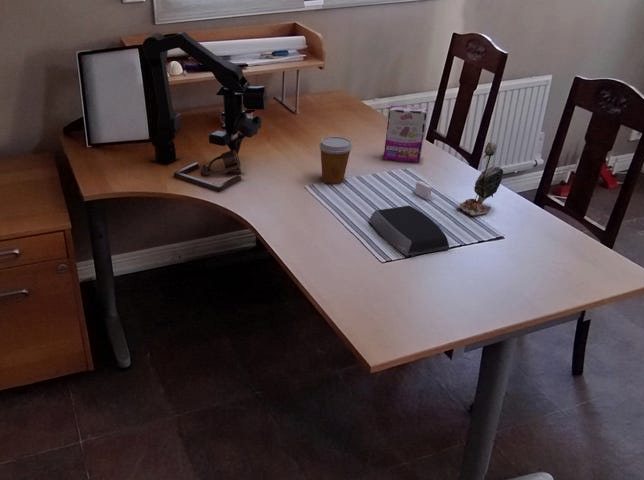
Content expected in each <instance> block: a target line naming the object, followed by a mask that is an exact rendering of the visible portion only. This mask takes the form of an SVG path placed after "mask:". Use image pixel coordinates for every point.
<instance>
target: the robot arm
mask: <svg viewBox="0 0 644 480" xmlns="http://www.w3.org/2000/svg"><path fill="white" fill-rule="evenodd" d="M175 49H180V50H181V51H182V52H184V53H185V54H187V56H189V57H191V58H192V59H193V60H195V61H196V62H198V64H201V65H202V66H203V67H204V68H206V69H207V70H209V71H210V73H211V74H212V75H213V77H214V78H215V79H216V81H217V82H218V83H219V84H220V85H221V86H220V88H219V89H218V91H217V92H216V93H215V94H216V96H222V97H223V112H221V114H220V115H221V117H223V118H224V124H223V125H221V129H222V130H224V131H221V130H216V131H213V132H212V133H210V134H209V136H208V143H209V144H212V145H215V146H216V145H217V146H220V147H225V146H227V147H228V149H229V151H231V150H236V152H237V155H238V156H239V152H240V148H241V145H242V142H243V140H244V139H245V138H249V139H250V138H253V137H254V136H255V135H258V132H259V129H261V128H262V117H260V116H259V115H256V116H253V117H250V116H247V112H246V110H249V111H252V110H253V111H254V110H255V111H265V110H267V108H268V103H269V102H268V101H269V99H268V97H269V96H268V91H267V90H266V89H267V88H266V86H265V85H259V86H251V83H250V82H249V81H248V80H247V78H246V76H244V71H243V69H242V67H241V66H239V65H237V64H236V63H234V62H232V61H230V60H226V59H222V58H221V57H219V56H217V55H216V54H215V53H213V52H212V51H211V50H209V49H208V48H207V47H206V46H204V45H202V44H201V43H199V42H198V41H197V40H196V39H194V38H193V37H192V36H190V35H189V34H188V33H187V32H186V31H182V30H181V31H179V32H175V33H174V32H173V33H166V34H163V33H160V32H155V33H153V34H151V35H149V36H148V37H146V38H145V39H144V41H143V42H142V51H143V54H144V57H145V59H146V62H147V63H148V64H149V66H150V68H151V73H152V79H153V85H154V90H155V97H156V103H157V109H158V118H157V124H156V125H157V126H156V127H157V133H156V134H155V135H154V137H153V138H151V139H150V141H151V144H152V146H153V147H154V158H152V159H151V162H155V163H158V164H162V165H165V166H166V165H169V164H171V163H173V162H176V161H179V159H180V158H179V157H178V156H177V153H176V145H175V142H174V140H175V139H176V137H177V136H178V134H179V133H180V132H181V130H182V127H183V123H182V121H181V119H182V118H181V117H182V116H181V113H177V112H175V110H174V106H173V99H172V94H171V87H170V80H169V75H168V68H167V59H168V54H169V53H168V52H169V51H172V50H175ZM243 108H245V109H246V110H243Z"/></svg>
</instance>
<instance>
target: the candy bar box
mask: <svg viewBox="0 0 644 480" xmlns="http://www.w3.org/2000/svg"><path fill="white" fill-rule="evenodd" d="M428 109H429V108H428V107H421V106H420V107H419V106H405V105H390V108H389V110H388V116H387V125H386V134H385V142H384V150H383V160H384V161H394V162H395V161H396V162H403V163H404V162H407V163H413V164H414V163H415V164H418V163H420V160H421V156H422V150H423V143H424V137H425V132H426V131H425V130H426V123H427V117H428Z"/></svg>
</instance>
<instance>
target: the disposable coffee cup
mask: <svg viewBox="0 0 644 480" xmlns="http://www.w3.org/2000/svg"><path fill="white" fill-rule="evenodd" d="M318 148H319V149H320V163H321V179H322V181H323V182H324V183H327V184H332V185H333V184H334V185H335V184H340V183H342V182H344V180H345V175H346V170H347V166H348V161H349V157H350V153H351V150H352V148H353V144H352V141H351V140H350V139H349V138H347V137H344V136H326V137H323V138H322V139H321V140H320V143H319V144H318Z"/></svg>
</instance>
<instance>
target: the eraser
mask: <svg viewBox="0 0 644 480" xmlns="http://www.w3.org/2000/svg"><path fill="white" fill-rule="evenodd" d="M432 190H433V186H431V185H429V184H427V183H425V182H423V181H421V180H418V181H416V183H415V189H414V194H415V195H417V196H419V197H421V198H422V199H424V200H426V201H428V200H430V199H431V194H432Z"/></svg>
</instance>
